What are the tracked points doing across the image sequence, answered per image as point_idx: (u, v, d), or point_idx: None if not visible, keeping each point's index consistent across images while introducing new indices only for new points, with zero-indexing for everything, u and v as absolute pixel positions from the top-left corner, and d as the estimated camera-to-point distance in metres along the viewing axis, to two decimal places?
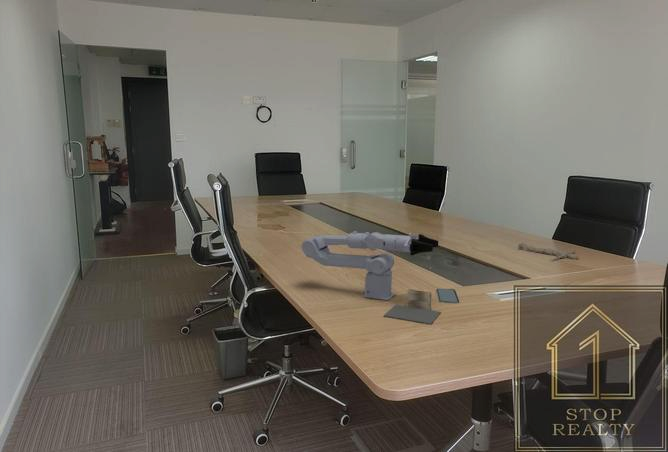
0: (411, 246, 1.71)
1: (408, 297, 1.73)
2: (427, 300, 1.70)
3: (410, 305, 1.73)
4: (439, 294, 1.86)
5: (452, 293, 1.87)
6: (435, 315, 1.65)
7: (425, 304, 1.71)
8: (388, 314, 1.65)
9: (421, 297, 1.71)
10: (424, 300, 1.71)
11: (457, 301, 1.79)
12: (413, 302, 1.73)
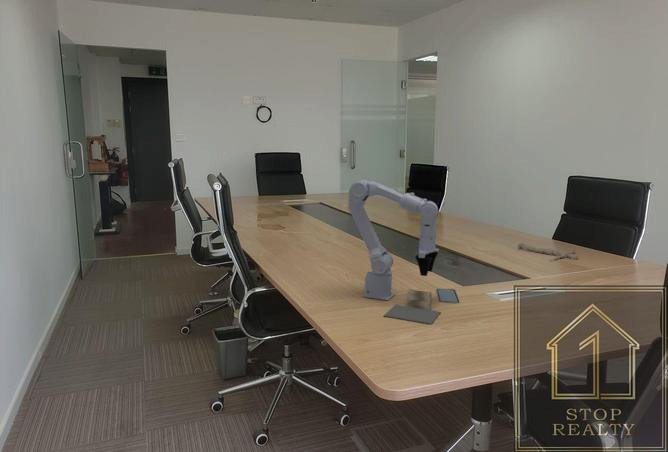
0: (424, 258, 1.72)
1: (408, 297, 1.73)
2: (427, 300, 1.70)
3: (410, 305, 1.73)
4: (439, 294, 1.86)
5: (452, 293, 1.87)
6: (435, 315, 1.65)
7: (425, 304, 1.71)
8: (388, 314, 1.65)
9: (421, 297, 1.71)
10: (424, 300, 1.71)
11: (457, 301, 1.79)
12: (413, 302, 1.73)
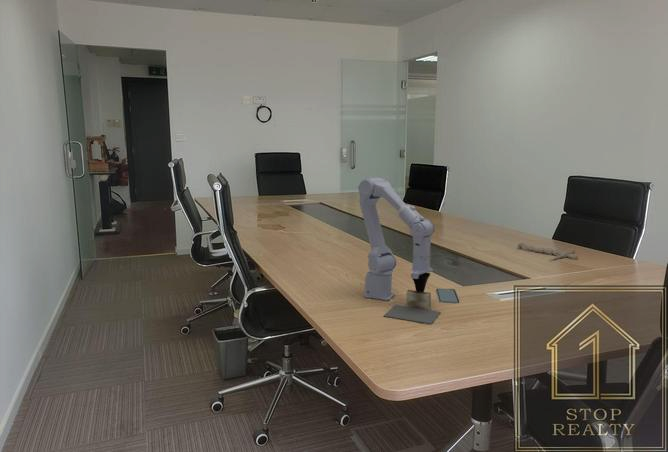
0: (420, 277, 1.69)
1: (407, 298, 1.73)
2: (426, 300, 1.70)
3: (410, 305, 1.73)
4: (439, 294, 1.86)
5: (452, 293, 1.87)
6: (435, 315, 1.65)
7: (425, 304, 1.71)
8: (388, 314, 1.65)
9: (420, 298, 1.71)
10: (424, 301, 1.70)
11: (457, 301, 1.79)
12: (413, 302, 1.72)
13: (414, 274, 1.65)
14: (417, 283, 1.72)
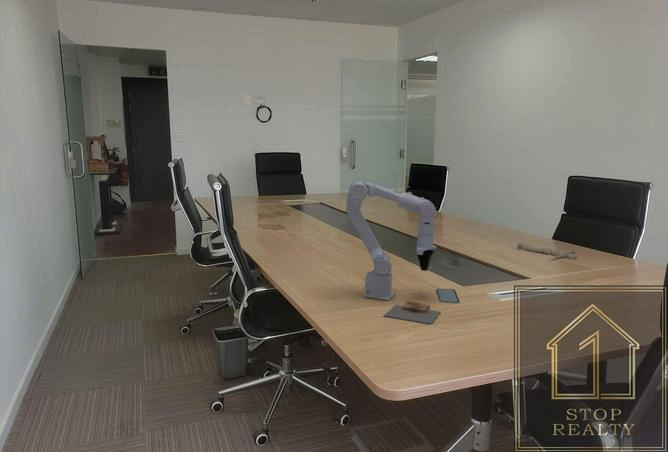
0: (424, 253, 1.79)
1: None
2: None
3: None
4: (439, 294, 1.86)
5: (452, 293, 1.87)
6: (435, 315, 1.65)
7: None
8: (388, 314, 1.65)
9: None
10: None
11: (457, 301, 1.79)
12: None
13: (418, 250, 1.75)
14: (421, 260, 1.81)
